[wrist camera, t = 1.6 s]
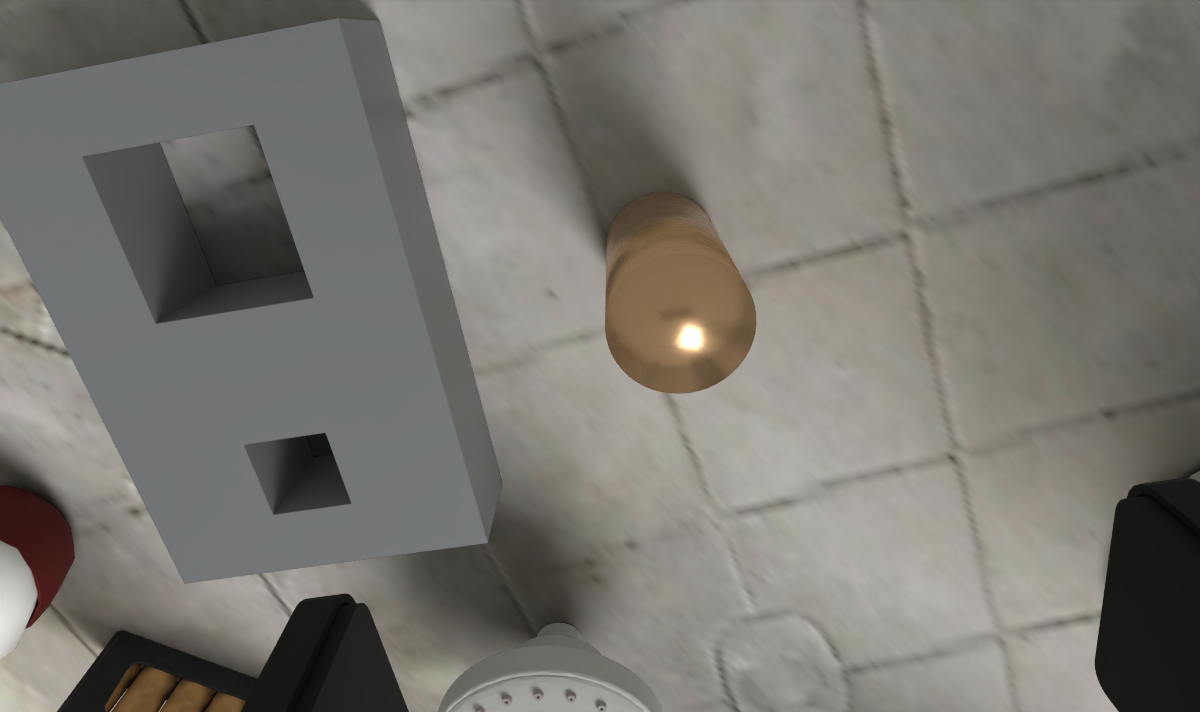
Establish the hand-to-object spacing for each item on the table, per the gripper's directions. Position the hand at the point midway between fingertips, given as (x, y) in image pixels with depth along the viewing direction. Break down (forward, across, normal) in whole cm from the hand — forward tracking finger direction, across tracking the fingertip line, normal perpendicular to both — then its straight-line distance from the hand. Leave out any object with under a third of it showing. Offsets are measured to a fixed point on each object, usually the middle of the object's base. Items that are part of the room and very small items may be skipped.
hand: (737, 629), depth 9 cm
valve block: (+19, +14, 0) cm, 23 cm away
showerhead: (+19, +7, +18) cm, 27 cm away
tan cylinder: (+19, 0, 0) cm, 19 cm away
